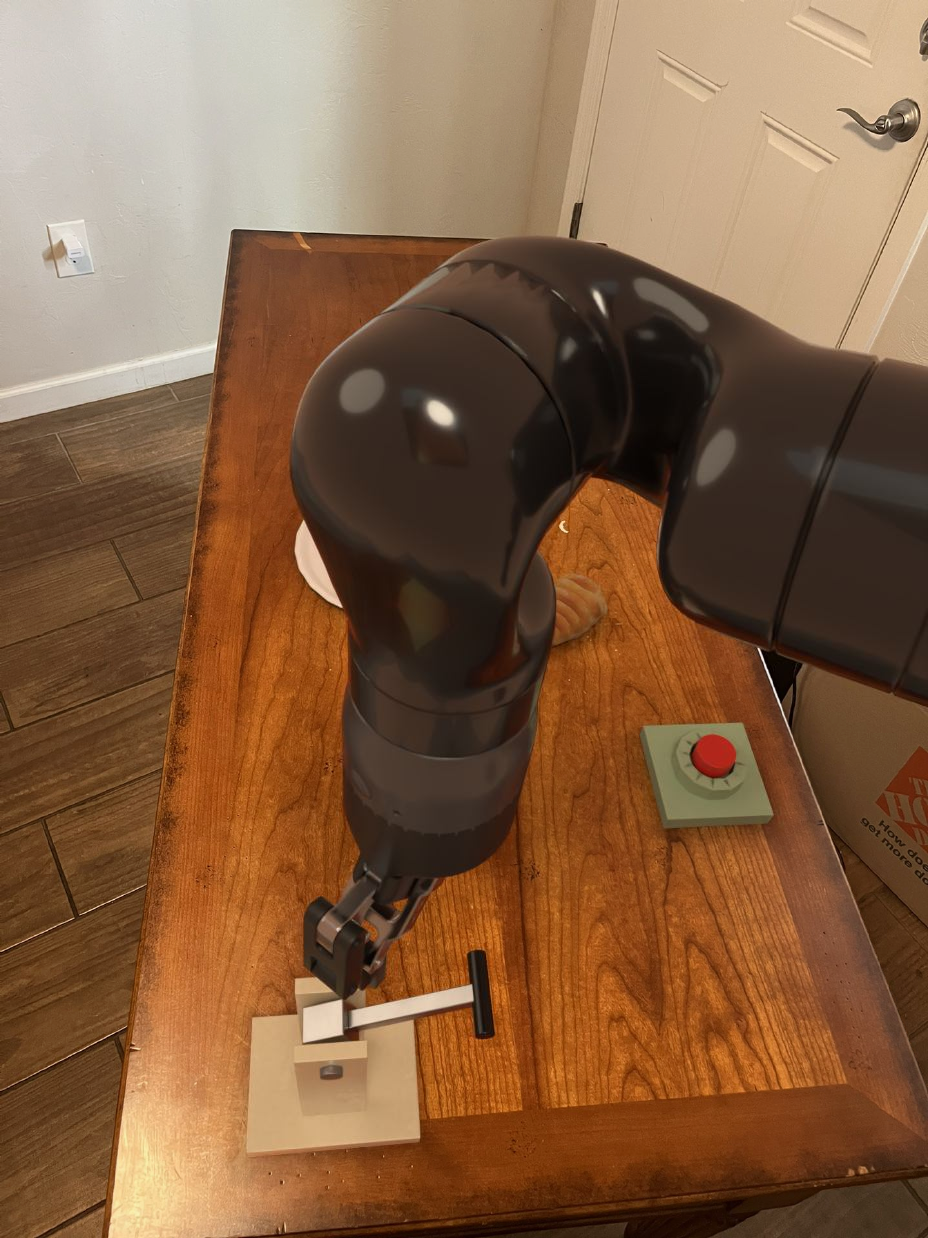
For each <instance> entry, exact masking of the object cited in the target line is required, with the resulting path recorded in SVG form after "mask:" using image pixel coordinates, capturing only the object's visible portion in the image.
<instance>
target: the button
mask: <svg viewBox="0 0 928 1238" xmlns="http://www.w3.org/2000/svg"><path fill="white" fill-rule="evenodd" d="M692 760H693V763H694V765H695V767H696V768H697V769H698V770H699V771H700V772H701V773H702V774H704V775H706V776H709V777H713V778H718V777H722V776H724V775H726V774H727V773H728V772H729V770H730V769H731V767H732V765H733V764H734V762H735V760H736V750H735V748H734V746H733V745H732V743H731V742H730V741H729V740H727V739H726V738H724V737H722V736H719V735H715V734H710V735H706V736H704V737H702V738H701V739H700V740H699V741H698V743H697V745H696V747H695V749H694V751H693V754H692Z"/></svg>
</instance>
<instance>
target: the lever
mask: <svg viewBox="0 0 928 1238" xmlns="http://www.w3.org/2000/svg"><path fill="white" fill-rule="evenodd" d="M466 961H467V970H468V980H469V984H464V985H459V986H455V987H450V988H446V989H441V990H436V991H433V992H428V993H422V994H418V995H413V996H410V997H405V998H400V999H395V1000H391V1001H386V1002H382V1003H378V1004H372V1005H368V1006H365V1007H363V1008H359V1009H358V1008H356V1007H355V1006H353V1005H352V1004H350V1003H348V1002H347V1001H345V1000H343V999H340V1000H335V1001H331V1002H326V1003H322V1004H317V1005H313V1006H308V1007H304V1008H303V1041H302V1043H303V1044H304V1045H308V1044H322V1043H336V1042H350V1041H359V1031H363V1030H368V1029H373V1028H378V1027H382V1026H387V1025H392V1024H396V1023H401V1022H406V1021H410V1020H414V1021H415V1020H419V1019H420V1020H421V1019H424V1018H428V1017H433V1016H438V1015H439V1016H440V1015H443V1014H447V1013H452V1012H457V1011H461V1010H462V1011H463V1010H466V1009H472V1010H471V1011H472V1012H471V1013H472V1022H473V1031H474V1032H473V1033H474V1038H475V1039H476V1040H489V1039H492V1038H494V1037H495V1036H496V1030H495V1022H494V1013H493V1012H494V1011H493V1003H492V995H491V986H490V977H489V967H488V958H487V952H486V950H484V949H473V950H470V951H469V952H467V953H466Z"/></svg>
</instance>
